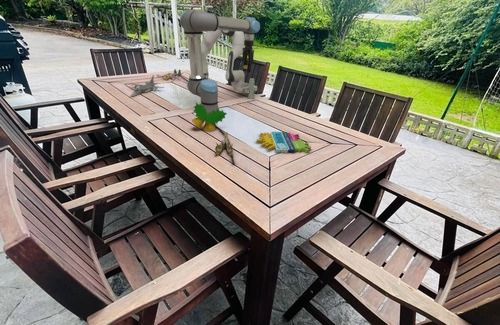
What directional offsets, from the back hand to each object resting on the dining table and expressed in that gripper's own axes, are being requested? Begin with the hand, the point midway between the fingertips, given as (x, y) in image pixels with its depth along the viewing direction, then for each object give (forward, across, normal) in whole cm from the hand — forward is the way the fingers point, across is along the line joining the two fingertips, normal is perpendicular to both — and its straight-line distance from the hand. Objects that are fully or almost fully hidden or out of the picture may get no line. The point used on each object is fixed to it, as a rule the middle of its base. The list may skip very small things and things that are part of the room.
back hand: (251, 91), depth 228 cm
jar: (-1, 0, +6) cm, 7 cm away
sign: (+85, -38, +7) cm, 93 cm away
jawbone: (+79, -73, +7) cm, 107 cm away
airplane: (-54, -76, +6) cm, 94 cm away
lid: (+5, -10, -22) cm, 24 cm away
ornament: (+47, -65, +7) cm, 81 cm away
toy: (-100, -36, +6) cm, 106 cm away
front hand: (+5, -10, -18) cm, 21 cm away
